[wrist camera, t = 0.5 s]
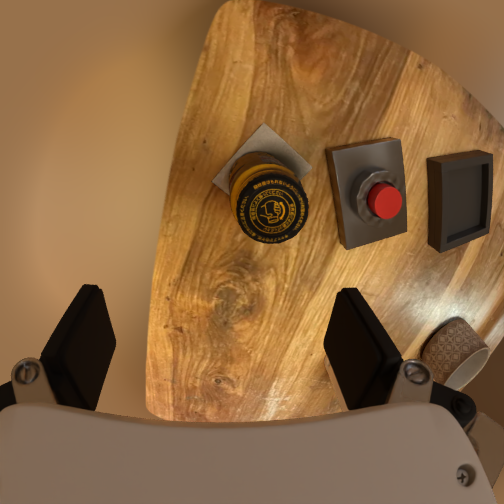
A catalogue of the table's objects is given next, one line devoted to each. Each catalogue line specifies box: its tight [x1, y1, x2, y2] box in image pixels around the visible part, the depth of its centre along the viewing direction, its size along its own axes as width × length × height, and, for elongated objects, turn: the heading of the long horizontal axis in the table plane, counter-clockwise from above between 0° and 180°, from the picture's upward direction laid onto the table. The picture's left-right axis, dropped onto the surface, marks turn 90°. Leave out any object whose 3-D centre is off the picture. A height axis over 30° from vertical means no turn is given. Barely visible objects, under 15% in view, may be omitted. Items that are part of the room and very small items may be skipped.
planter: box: [422, 319, 490, 391], centre depth 43 cm, size 13×13×10 cm
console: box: [325, 137, 407, 250], centre depth 30 cm, size 12×9×4 cm
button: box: [368, 183, 402, 219], centre depth 28 cm, size 4×4×2 cm
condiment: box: [211, 123, 313, 244], centre depth 25 cm, size 7×8×12 cm
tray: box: [427, 150, 493, 253], centre depth 32 cm, size 13×12×3 cm
